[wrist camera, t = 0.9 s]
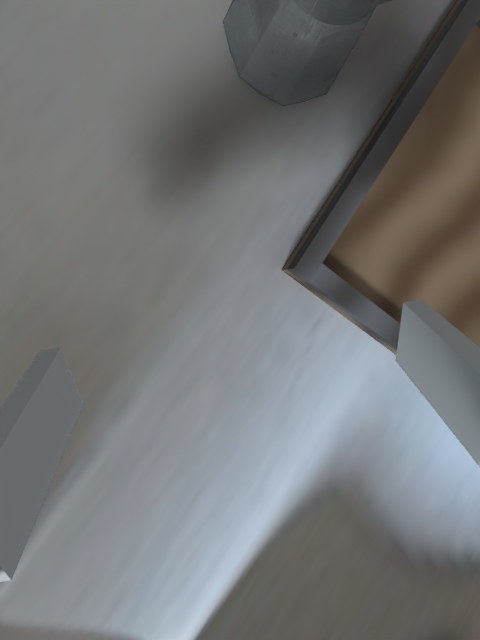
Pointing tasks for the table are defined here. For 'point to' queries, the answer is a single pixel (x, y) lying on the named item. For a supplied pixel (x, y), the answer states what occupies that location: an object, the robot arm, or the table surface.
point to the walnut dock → (409, 200)
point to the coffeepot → (294, 43)
